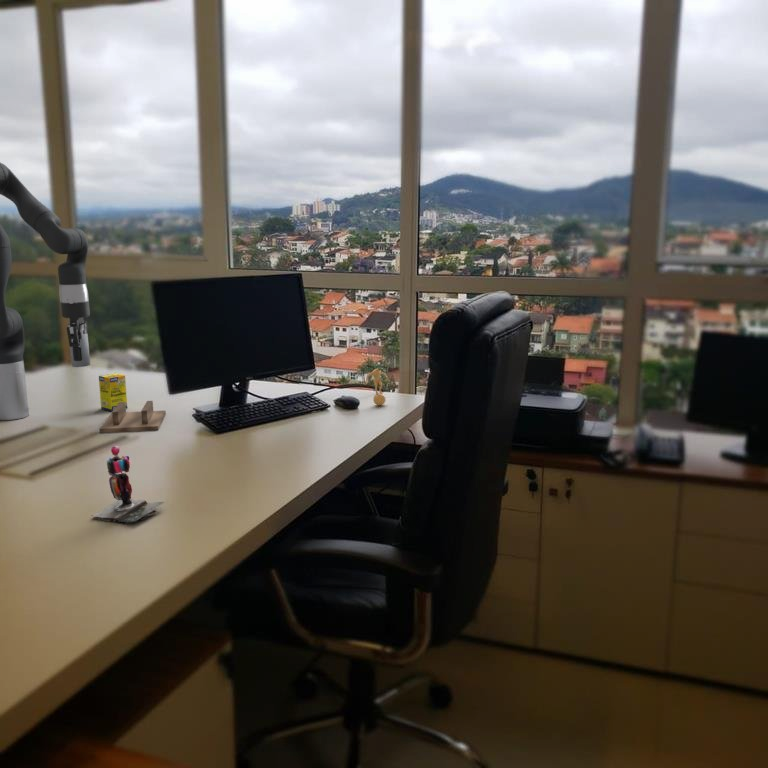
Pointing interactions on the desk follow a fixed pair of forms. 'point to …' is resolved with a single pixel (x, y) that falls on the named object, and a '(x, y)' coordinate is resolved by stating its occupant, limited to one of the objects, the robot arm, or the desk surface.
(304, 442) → the desk surface
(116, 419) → the holder
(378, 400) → the figurine
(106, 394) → the supplement box
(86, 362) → the grey block
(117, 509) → the statue
